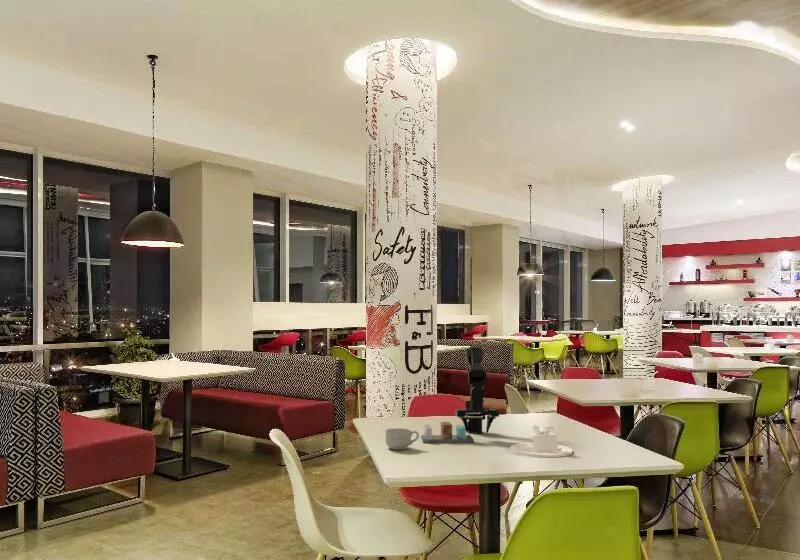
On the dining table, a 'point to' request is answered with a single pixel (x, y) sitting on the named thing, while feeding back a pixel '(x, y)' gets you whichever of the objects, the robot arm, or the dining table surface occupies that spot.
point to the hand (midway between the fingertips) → (477, 432)
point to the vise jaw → (460, 431)
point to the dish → (542, 445)
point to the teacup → (399, 438)
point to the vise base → (438, 438)
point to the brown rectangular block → (446, 430)
